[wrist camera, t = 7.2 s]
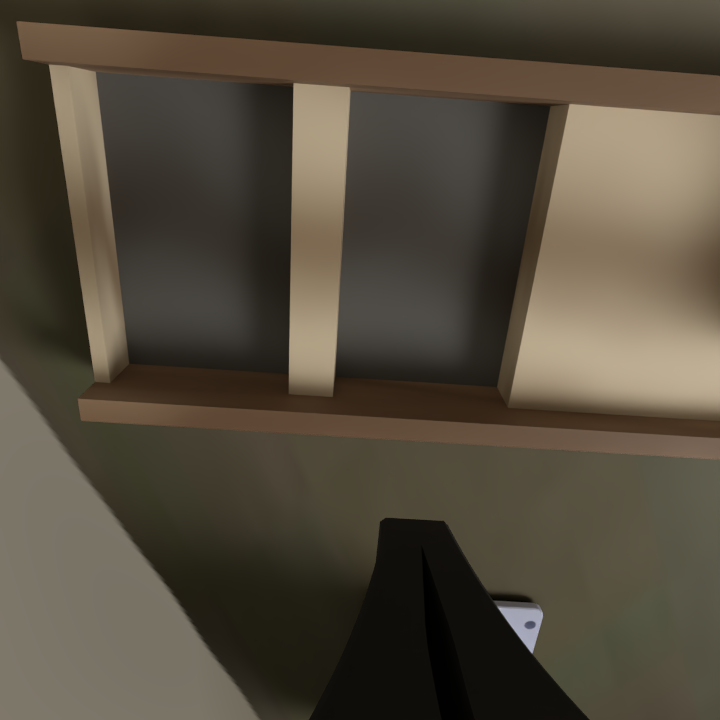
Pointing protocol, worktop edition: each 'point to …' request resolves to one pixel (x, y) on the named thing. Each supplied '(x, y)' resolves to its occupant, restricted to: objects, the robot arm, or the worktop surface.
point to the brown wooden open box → (392, 241)
